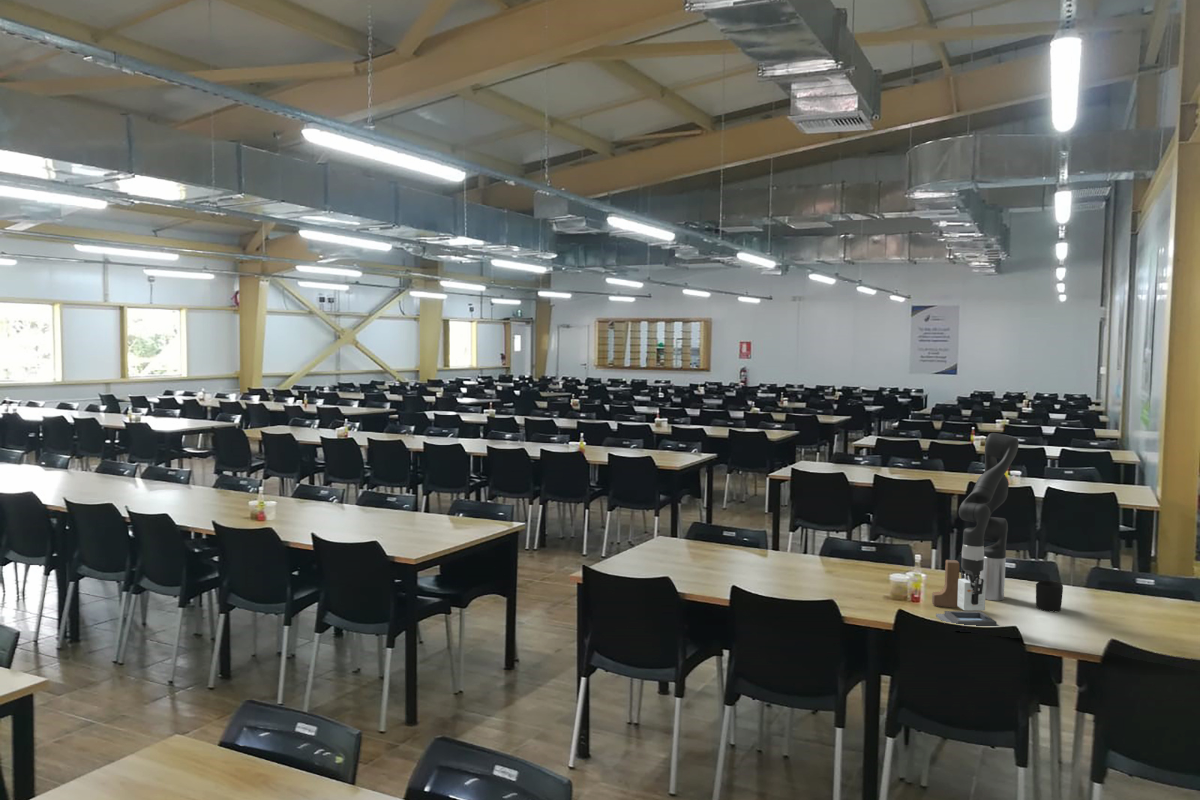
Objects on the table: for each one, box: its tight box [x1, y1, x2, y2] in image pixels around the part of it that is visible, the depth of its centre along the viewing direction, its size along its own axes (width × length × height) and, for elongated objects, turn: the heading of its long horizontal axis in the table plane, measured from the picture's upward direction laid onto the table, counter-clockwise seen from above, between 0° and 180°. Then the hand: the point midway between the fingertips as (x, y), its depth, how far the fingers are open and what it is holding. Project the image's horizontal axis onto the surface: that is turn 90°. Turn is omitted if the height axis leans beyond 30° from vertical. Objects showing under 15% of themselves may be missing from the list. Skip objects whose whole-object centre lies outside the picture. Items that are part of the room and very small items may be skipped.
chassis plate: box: [935, 610, 1000, 626], centre depth 312 cm, size 18×18×3 cm
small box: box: [957, 578, 986, 611], centre depth 312 cm, size 8×6×10 cm
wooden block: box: [931, 559, 961, 609], centre depth 335 cm, size 9×4×18 cm, turn 78°
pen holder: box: [1035, 580, 1064, 613], centre depth 333 cm, size 9×9×10 cm
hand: (970, 601), depth 312 cm, fingers closed on small box, 5 cm apart
